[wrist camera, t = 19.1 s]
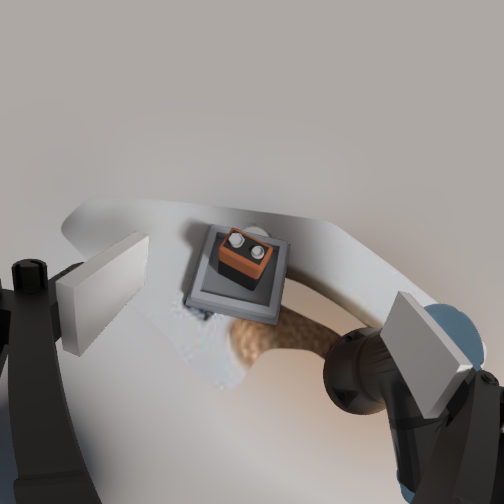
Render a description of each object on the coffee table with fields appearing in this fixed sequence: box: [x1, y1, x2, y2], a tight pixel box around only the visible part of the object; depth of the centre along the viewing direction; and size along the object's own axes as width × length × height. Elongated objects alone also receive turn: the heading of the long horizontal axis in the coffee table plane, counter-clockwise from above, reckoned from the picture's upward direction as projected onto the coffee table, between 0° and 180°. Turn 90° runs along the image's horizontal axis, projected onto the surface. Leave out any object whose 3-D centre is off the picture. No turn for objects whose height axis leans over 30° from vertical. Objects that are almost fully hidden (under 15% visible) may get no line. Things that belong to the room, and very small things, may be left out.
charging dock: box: [186, 225, 290, 326], centre depth 50 cm, size 15×15×3 cm
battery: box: [218, 228, 273, 291], centre depth 46 cm, size 4×7×10 cm, turn 62°
